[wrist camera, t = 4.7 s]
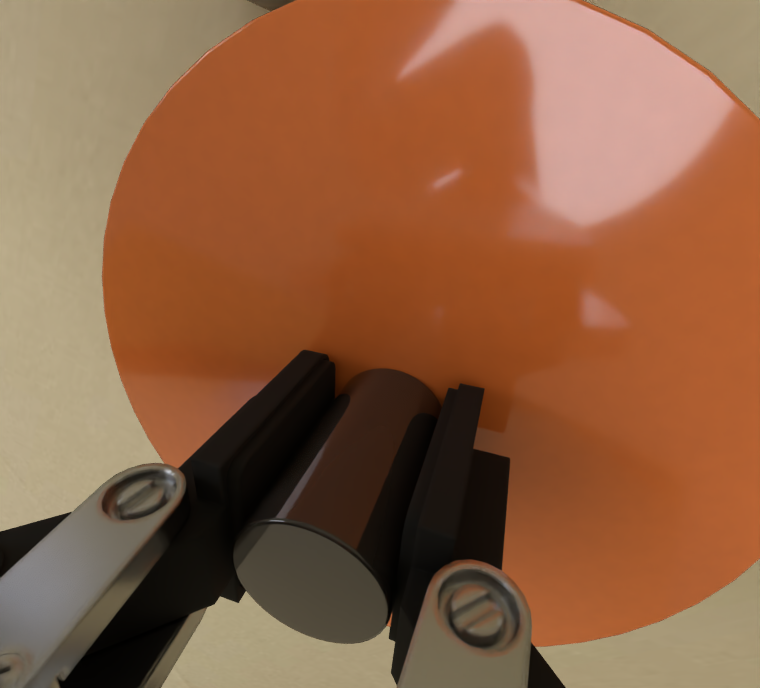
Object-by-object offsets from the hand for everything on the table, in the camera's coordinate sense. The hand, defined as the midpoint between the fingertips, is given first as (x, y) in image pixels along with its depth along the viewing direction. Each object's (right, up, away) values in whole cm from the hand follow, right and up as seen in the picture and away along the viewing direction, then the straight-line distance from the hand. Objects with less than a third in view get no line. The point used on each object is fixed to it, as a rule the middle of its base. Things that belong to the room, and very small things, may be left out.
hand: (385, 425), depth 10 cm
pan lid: (0, 0, +1) cm, 1 cm away
